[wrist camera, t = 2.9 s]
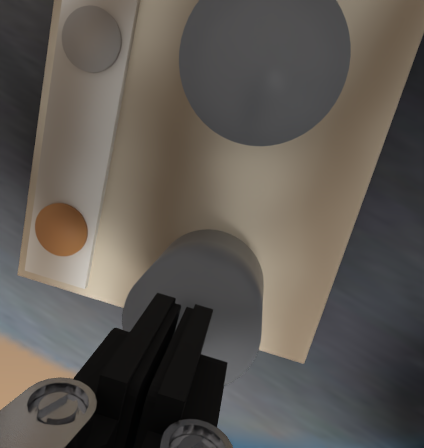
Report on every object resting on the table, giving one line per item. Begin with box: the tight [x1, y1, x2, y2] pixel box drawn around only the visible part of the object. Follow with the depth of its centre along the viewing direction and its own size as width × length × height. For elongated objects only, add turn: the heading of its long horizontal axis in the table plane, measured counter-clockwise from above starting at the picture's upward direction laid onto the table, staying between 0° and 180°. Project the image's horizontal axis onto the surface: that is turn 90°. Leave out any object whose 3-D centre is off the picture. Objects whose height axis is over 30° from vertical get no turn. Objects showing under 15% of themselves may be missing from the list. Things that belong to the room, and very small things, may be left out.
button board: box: [18, 0, 424, 364], centre depth 15 cm, size 14×22×2 cm, turn 165°
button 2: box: [122, 229, 264, 386], centre depth 14 cm, size 4×4×4 cm
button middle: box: [179, 0, 351, 146], centre depth 12 cm, size 4×4×4 cm
